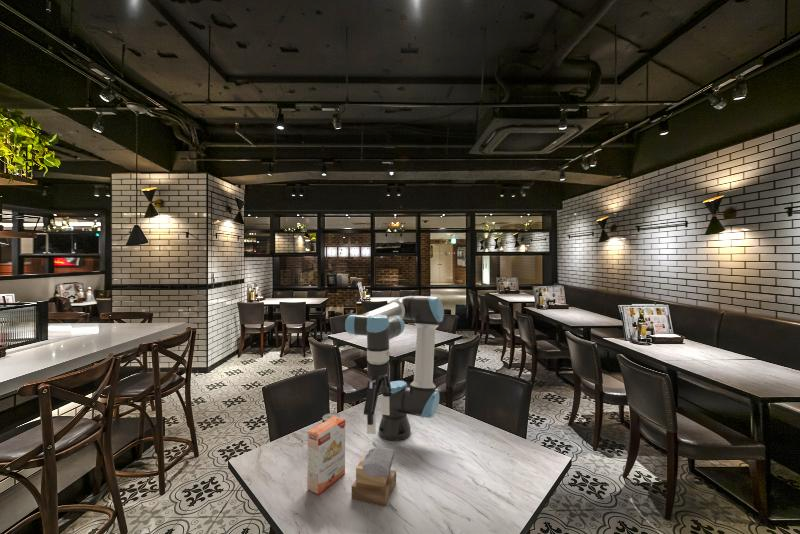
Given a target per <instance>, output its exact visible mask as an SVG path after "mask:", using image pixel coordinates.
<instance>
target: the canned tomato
mask: <svg viewBox="0 0 800 534" xmlns="http://www.w3.org/2000/svg"><path fill="white" fill-rule="evenodd" d="M334 416H336V417H338V418H341V415H340V413H336V412H329V413H326V414H323V416H322V417H321V418H322V423H323V422H325V421H327V420H329V419H330V418H332V417H334Z"/></svg>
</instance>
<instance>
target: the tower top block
mask: <svg viewBox="0 0 800 534" xmlns="http://www.w3.org/2000/svg"><path fill="white" fill-rule="evenodd" d="M366 455H367V454H363V456H362V458H361V459H360V461H359V463H358V464H357V465H356V467H355V480H356V483H362V484H368V485H374V486H379V487H384V486H385V484H386V481H387V479H388V477H389V475H390V473H391V472H389V475H388V476H369V475H366V474H365V473H364V471H363V461H364V459H365V456H366Z"/></svg>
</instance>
